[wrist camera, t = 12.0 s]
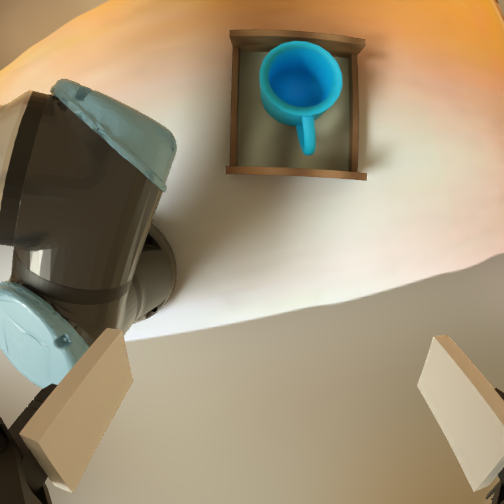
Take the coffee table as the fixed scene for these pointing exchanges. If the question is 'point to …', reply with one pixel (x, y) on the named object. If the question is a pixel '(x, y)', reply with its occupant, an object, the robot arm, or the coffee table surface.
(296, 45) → the mug
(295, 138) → the tray
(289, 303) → the coffee table surface
